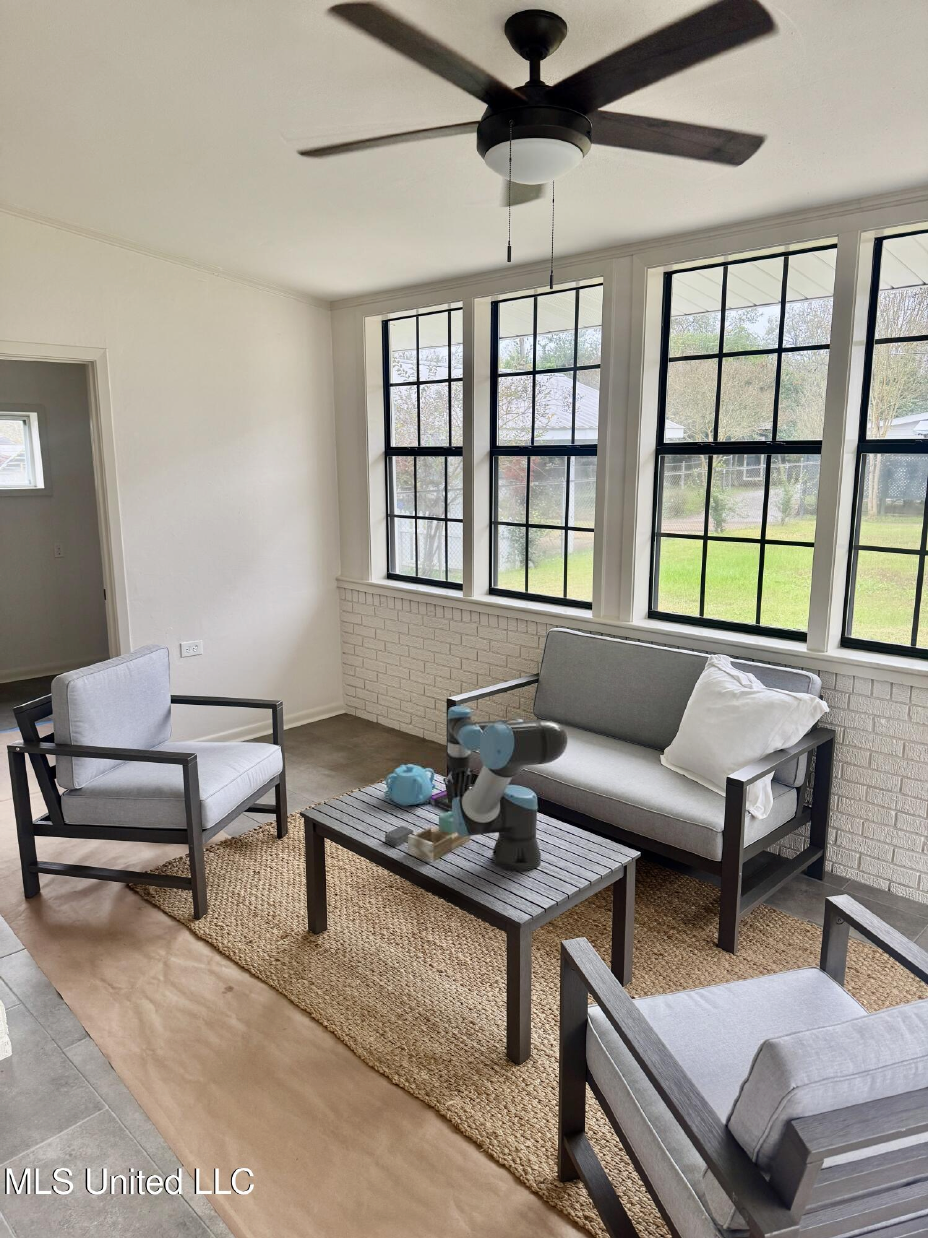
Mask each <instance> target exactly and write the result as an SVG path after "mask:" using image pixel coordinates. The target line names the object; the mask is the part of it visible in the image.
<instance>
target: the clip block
mask: <svg viewBox="0 0 928 1238" xmlns="http://www.w3.org/2000/svg"><path fill="white" fill-rule="evenodd" d="M438 826H439V830H442V831H444V832H447V833H449V834H453V833H455V832H457V831H456V829H455V825H454V820H453V813H452V812H451V811H449V812H448V811H447V812H445V813H443V814H441V815H439V816H438Z"/></svg>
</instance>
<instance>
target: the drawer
mask: <svg viewBox="0 0 928 1238" xmlns="http://www.w3.org/2000/svg"><path fill="white" fill-rule="evenodd" d="M469 841H471V836H470V837H468V836H459V835H458V833H457V832H455V833H453V834H449V833H447V832H444V831H442V830H439V825H437V827H435V828H432V827H428V828H425V829H424V830H422V831H420V832H418V833H416V834H413V835H411V834H410V835H408V841H407V854H409V855H411V856H413V857H414V856H415V857H416V858H419V859H421V860H424V861H426V862H428V863H433V862H434V861H436V860H438V859H439V858H442V857H444V856H446V855H447V854H449V853H451V852H452V851H454V850H455V849H457V848H458V847H460V846H462V845H464V844H466V843H467V842H469Z"/></svg>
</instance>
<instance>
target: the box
mask: <svg viewBox="0 0 928 1238" xmlns="http://www.w3.org/2000/svg"><path fill="white" fill-rule="evenodd" d="M427 802H428V804H430V805H432V806H435V807H437V808H440V809H441V810H444V811H445V812H446V811H447V812H449V811H451V812H452V804H450V803H448V798H447V792H446V789H445V790H442V791H440V792H437V793H434V794H432V796H431V797H430V798H429V800H428V801H427Z"/></svg>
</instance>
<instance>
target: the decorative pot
mask: <svg viewBox="0 0 928 1238" xmlns="http://www.w3.org/2000/svg"><path fill="white" fill-rule="evenodd" d="M427 772H430V777H429V775H428V773H427ZM434 778H435V771H434V769H432V768H430V767H428V768H427V767H426V768H423V767H421V766H420V765H415V764H411V763H410V764H409V763H408V764H406V765H405V764H400V765H399V766H398V767H397V768H395V769H394V771H393V773H390V774H388V775H387V776H386V778H385V782H384V783H385V786H386V788H387V790H385V791H384V793H383V794H384V795H383V796H384V797H385V798H388V799H389V798H390V799H392V801H393V802H394V803H396V804H398V805H401V806H402V807H409V806H411V805H419V804H425V803H426V802H429V801H428V800H429V798H430V797H431V796H432V795H433V791H434V790H435V788H436V784H435V782H434V780H435V779H434Z"/></svg>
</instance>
